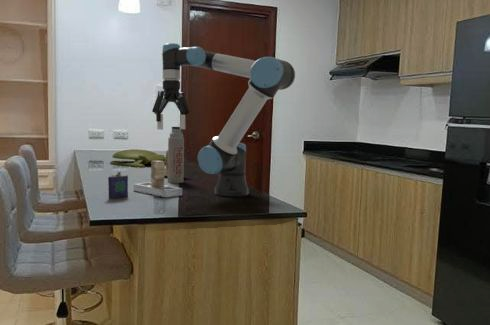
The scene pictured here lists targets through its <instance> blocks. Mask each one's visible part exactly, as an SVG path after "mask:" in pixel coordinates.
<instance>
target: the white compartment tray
mask: <svg viewBox="0 0 490 325" xmlns="http://www.w3.org/2000/svg"><path fill="white" fill-rule="evenodd" d="M133 191H134V192H137V191H139V192H138V193H142V192H143V193H142V194H147V193H148V194H147V195H151V194H152V196H157V197H160V196H161V197H162V198H172V197H173V198H174V197H180V196H183V188H182V187H177V186H172V185H167V184H164V187H157V188H156V187H151V181H148V182H147V181H146V182H140V183H133Z"/></svg>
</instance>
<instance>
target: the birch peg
mask: <svg viewBox="0 0 490 325" xmlns="http://www.w3.org/2000/svg"><path fill="white" fill-rule="evenodd" d="M150 164H151V165H150V182H151V187H156V188H157V187H164V185H165V176H164V169H165V164H164V161H159V160H158V161H151V163H150Z"/></svg>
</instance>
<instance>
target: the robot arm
mask: <svg viewBox="0 0 490 325" xmlns="http://www.w3.org/2000/svg"><path fill="white" fill-rule="evenodd" d="M161 56H162V89H163V90H158V91H157V96H156V100H155V102H154V105H153V107H152V110H151V112H152V113H154V115H156V116H155V117H156V125H157V126H156V127H157V128H156V129H157V130H160V131H161V130H162V131H163V130H164V114H163V112H164V110H165V108H166V107H167V105H168V103H174V104H175V106H176V107H177V109H178V111H179V112H180V114H179V127H180V129H181V130H186V122H187V115H189V114H190V113H191V112H190V109H189V105H188V103H187V100H186V97H185V96H186V95H185V92H184V91H182V92H181V91H180V89H181V81H180V80H181V67H186V66H187V67H188V66H189V67H190V66H191V67H197V68H201V69H202V68H203V69H206V70H210V71H211V70H212V71H216V72H221V73H225V74H230V75H233V76H239V77H244V78H248V81H247V83H248V84H247V85H248V89H247V90H246V92H245V93H244V95H243V96H242V98H241V100H239V103H238V105H237V106H236V107H235V109H234V111H233V113H232V114H231V115H230V117H229V119H228V120H227V122H226V124H225V125H224V126H223V128H222V129H221V131H220V132H219V134H218V135H216V136H213V137H212V138H211V140H210V142H209V144H208V145H205V146H203V147H202V148H201V149H200V150H199V151H198V154H197V161H198V166H199V168H200V169H201V170H202V171H203V172H204V173H206V174H209V175H218V179H217V181H216V185H215V187H214V195H218V196H222V197H245V196H248V195H249V187H248V184H247V179H246V165H247V164H246V161H247V160H246V159H247V146H246V143H242V142H241V141H242V139H243V138H244V136H245V134H246V133H247V131H248V130H249V128H250V126H252V124H253V123H254V120H255V119H256V118H257V116H258V114H259V113H260V112H261V110H262V108H263V107H264V105H265V104H266V103H267V100H270V99H271V100H272V99H273V98H274V97H275V96H276V94H277V93H278V91H279V90H280V91H283V90H286V89H288V88H289V87H290V86H292V85H293V84H294V81H295V79H296V71H295V68H294V67H293V65H292V64H291V63H290V62H288V61H287V60H282V59H279V58H277V57H274V56H262V57H260V58H258V59H257V60H255V59H254V60H253V59H249V58H243V57H239V56H233V55H229V54H223V53H217V52H213V51H208V50H204V49H203V48H202V47H200V46H189V47H181V45H180V44H178V43H172V42H171V43H164V44H163V45H162V53H161Z"/></svg>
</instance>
